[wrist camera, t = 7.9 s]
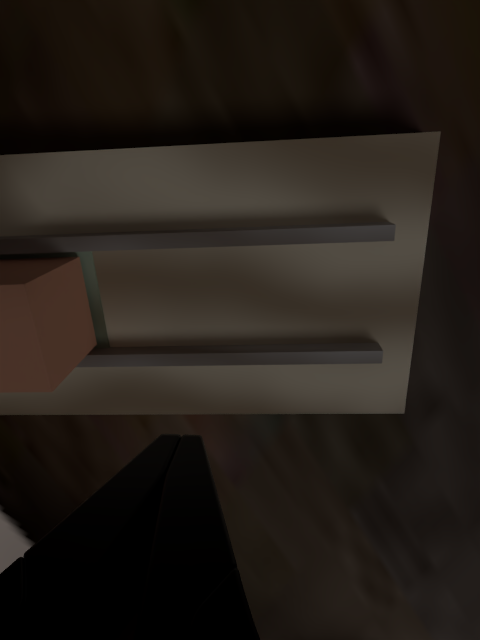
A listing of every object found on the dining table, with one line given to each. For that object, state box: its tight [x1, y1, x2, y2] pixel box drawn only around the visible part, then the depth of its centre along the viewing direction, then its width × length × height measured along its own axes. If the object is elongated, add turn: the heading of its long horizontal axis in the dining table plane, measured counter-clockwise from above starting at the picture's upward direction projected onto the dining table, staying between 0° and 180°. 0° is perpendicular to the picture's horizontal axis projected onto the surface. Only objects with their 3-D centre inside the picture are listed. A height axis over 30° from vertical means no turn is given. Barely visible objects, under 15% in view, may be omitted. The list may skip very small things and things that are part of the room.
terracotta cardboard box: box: [0, 257, 97, 393], centre depth 15 cm, size 4×4×4 cm
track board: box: [0, 132, 441, 415], centre depth 16 cm, size 12×20×4 cm, turn 93°
